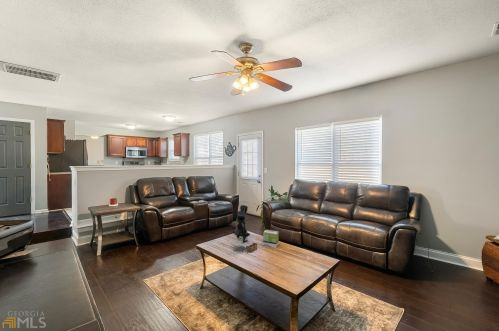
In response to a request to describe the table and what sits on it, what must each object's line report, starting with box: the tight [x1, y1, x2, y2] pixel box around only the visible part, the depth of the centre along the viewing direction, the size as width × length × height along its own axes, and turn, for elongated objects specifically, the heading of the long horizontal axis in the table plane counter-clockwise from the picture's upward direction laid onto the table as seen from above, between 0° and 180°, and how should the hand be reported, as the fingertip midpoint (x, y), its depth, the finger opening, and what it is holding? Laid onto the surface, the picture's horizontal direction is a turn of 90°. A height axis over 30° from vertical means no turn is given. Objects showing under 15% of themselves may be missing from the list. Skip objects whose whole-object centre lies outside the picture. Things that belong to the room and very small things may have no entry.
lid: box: [234, 236, 248, 243], centre depth 232 cm, size 10×6×3 cm, turn 143°
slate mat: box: [233, 245, 246, 253], centre depth 232 cm, size 9×13×1 cm
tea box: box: [262, 229, 280, 248], centre depth 244 cm, size 15×10×15 cm
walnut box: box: [245, 242, 258, 254], centre depth 228 cm, size 12×5×6 cm, turn 143°
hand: (241, 241), depth 232 cm, fingers closed on lid, 6 cm apart
